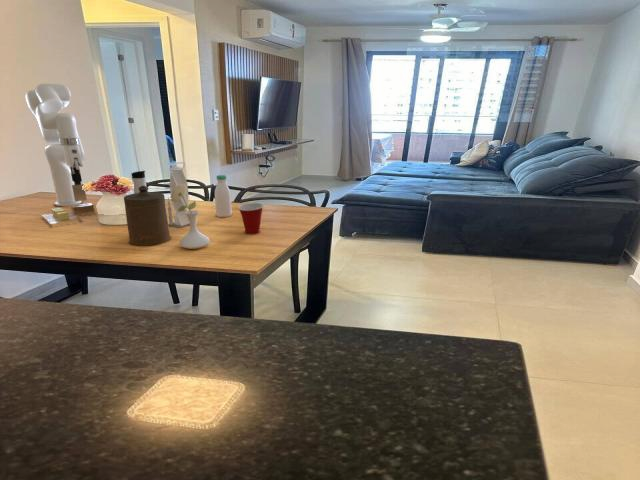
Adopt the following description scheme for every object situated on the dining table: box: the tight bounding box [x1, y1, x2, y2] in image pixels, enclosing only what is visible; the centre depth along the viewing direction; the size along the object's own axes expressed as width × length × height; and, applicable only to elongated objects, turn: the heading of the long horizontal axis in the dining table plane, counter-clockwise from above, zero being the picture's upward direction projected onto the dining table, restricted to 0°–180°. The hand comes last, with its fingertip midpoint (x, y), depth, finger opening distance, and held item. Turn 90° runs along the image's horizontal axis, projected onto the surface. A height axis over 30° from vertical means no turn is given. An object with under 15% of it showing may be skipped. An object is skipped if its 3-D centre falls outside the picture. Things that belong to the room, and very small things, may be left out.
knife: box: [72, 170, 88, 202], centre depth 183 cm, size 5×2×15 cm, turn 135°
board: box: [41, 210, 82, 225], centre depth 178 cm, size 20×12×2 cm, turn 45°
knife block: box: [70, 202, 95, 216], centre depth 186 cm, size 5×9×5 cm, turn 135°
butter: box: [51, 207, 66, 218], centre depth 180 cm, size 7×4×3 cm, turn 45°
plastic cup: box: [237, 202, 264, 235], centre depth 164 cm, size 11×11×12 cm
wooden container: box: [123, 185, 171, 247], centre depth 151 cm, size 15×15×22 cm
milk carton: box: [167, 161, 190, 229], centre depth 171 cm, size 8×8×28 cm
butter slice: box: [57, 212, 69, 220], centre depth 175 cm, size 2×4×3 cm, turn 135°
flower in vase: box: [169, 184, 211, 250], centre depth 143 cm, size 13×11×25 cm
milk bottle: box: [214, 174, 233, 218], centre depth 188 cm, size 8×8×20 cm
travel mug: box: [130, 170, 148, 194], centre depth 197 cm, size 6×7×20 cm
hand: (77, 181), depth 182 cm, fingers closed on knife, 1 cm apart
